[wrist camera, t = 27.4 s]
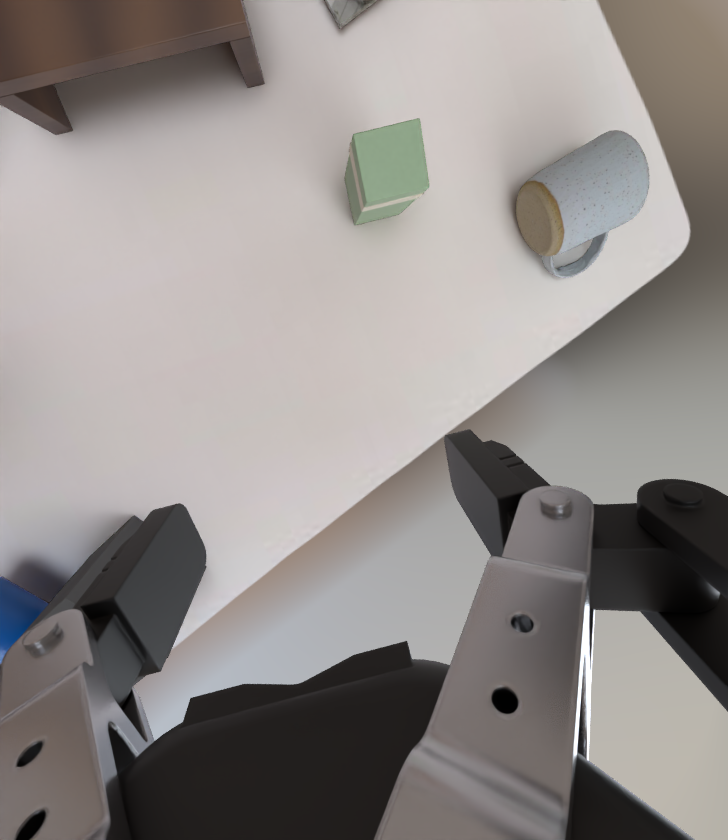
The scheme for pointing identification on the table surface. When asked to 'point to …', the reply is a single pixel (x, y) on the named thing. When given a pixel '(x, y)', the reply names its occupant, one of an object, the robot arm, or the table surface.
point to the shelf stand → (106, 44)
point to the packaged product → (347, 9)
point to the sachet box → (385, 171)
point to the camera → (21, 610)
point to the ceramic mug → (583, 199)
